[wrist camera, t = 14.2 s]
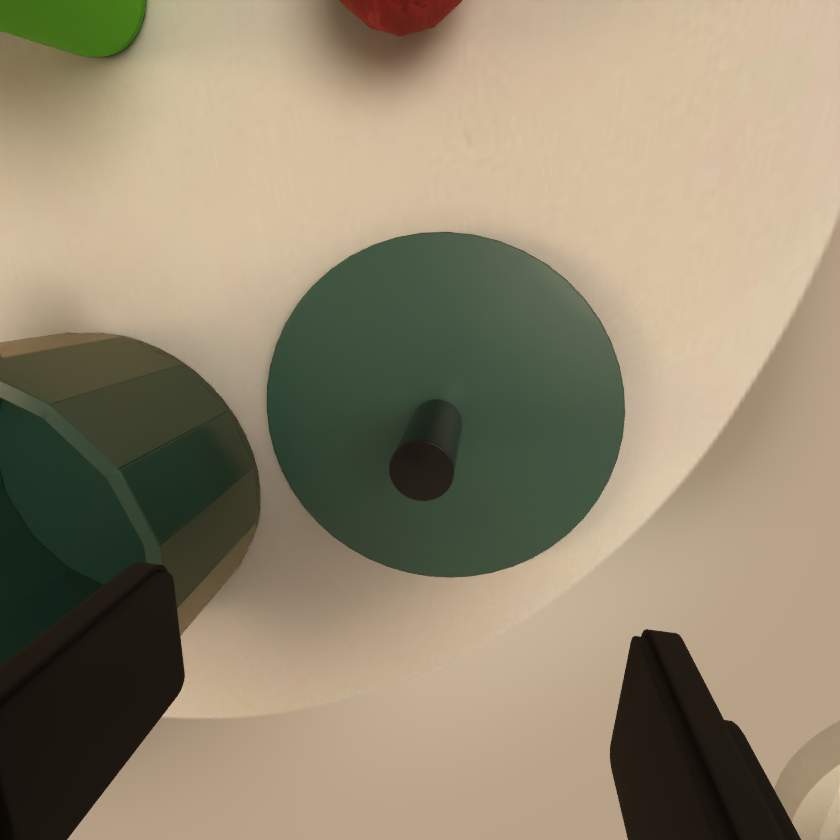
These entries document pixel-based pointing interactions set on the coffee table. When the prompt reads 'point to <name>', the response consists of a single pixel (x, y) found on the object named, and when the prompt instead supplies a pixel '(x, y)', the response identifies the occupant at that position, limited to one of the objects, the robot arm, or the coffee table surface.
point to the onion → (401, 14)
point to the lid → (445, 404)
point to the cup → (75, 23)
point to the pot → (113, 478)
